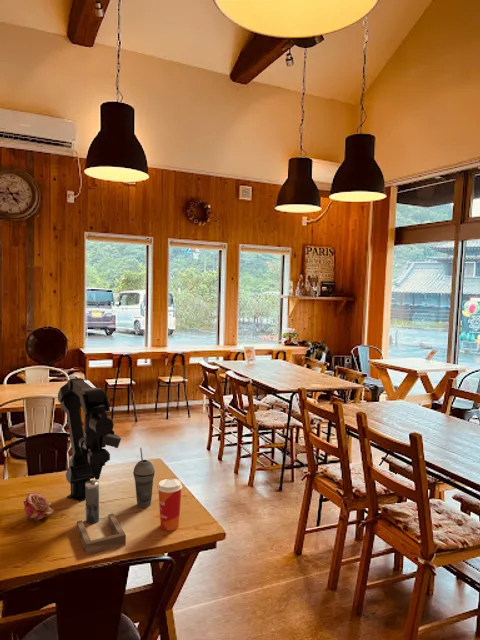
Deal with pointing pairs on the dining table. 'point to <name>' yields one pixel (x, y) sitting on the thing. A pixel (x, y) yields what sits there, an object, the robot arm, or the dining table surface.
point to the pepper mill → (92, 501)
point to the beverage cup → (144, 482)
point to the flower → (37, 506)
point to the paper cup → (169, 503)
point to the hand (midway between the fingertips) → (94, 474)
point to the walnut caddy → (105, 542)
